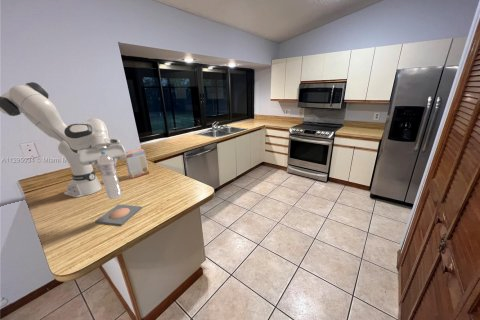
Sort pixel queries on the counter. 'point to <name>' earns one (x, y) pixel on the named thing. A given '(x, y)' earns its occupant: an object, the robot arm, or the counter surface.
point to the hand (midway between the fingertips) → (106, 168)
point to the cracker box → (136, 163)
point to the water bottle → (109, 176)
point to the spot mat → (119, 214)
